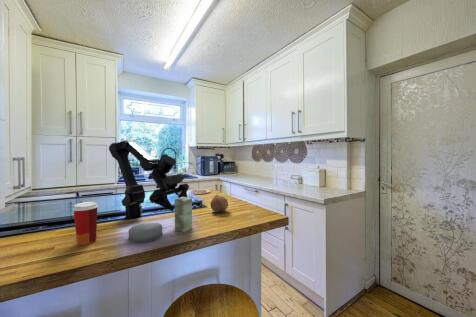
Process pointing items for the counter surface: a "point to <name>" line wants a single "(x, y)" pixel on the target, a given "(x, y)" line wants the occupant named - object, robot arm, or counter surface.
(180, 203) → the sage block
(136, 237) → the slate plinth
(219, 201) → the onion
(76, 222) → the paper cup
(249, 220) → the counter surface
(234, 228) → the counter surface
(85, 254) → the counter surface
